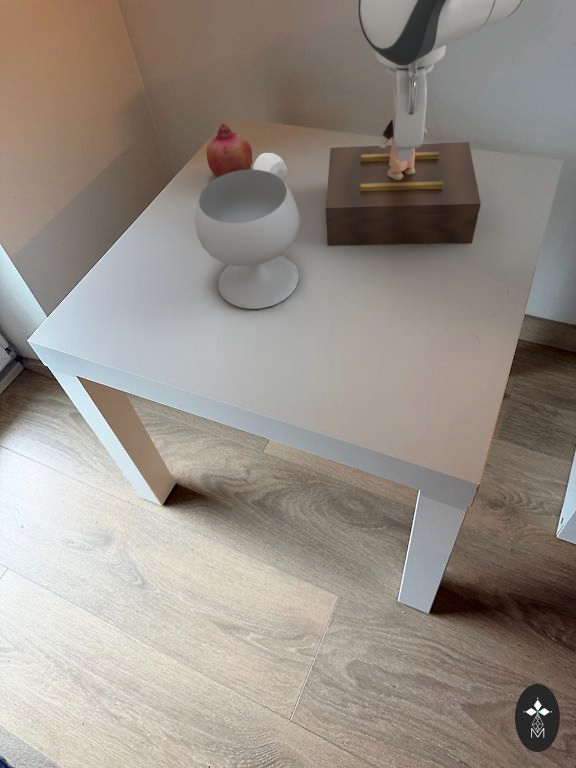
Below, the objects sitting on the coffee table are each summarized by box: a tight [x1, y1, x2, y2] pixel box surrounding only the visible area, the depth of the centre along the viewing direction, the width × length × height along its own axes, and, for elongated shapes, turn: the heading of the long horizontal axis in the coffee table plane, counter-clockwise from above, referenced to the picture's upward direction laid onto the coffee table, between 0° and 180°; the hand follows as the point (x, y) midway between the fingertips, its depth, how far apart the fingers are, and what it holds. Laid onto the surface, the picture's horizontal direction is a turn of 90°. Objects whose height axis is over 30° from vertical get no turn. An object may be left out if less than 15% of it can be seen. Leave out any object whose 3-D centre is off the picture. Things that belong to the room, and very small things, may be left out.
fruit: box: [206, 123, 253, 178], centre depth 94 cm, size 8×8×10 cm
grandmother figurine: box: [378, 118, 428, 180], centre depth 77 cm, size 8×4×13 cm, turn 126°
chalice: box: [194, 169, 300, 310], centre depth 75 cm, size 14×14×15 cm
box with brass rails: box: [325, 141, 482, 246], centre depth 85 cm, size 22×16×8 cm
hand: (402, 143), depth 78 cm, fingers open, 6 cm apart
